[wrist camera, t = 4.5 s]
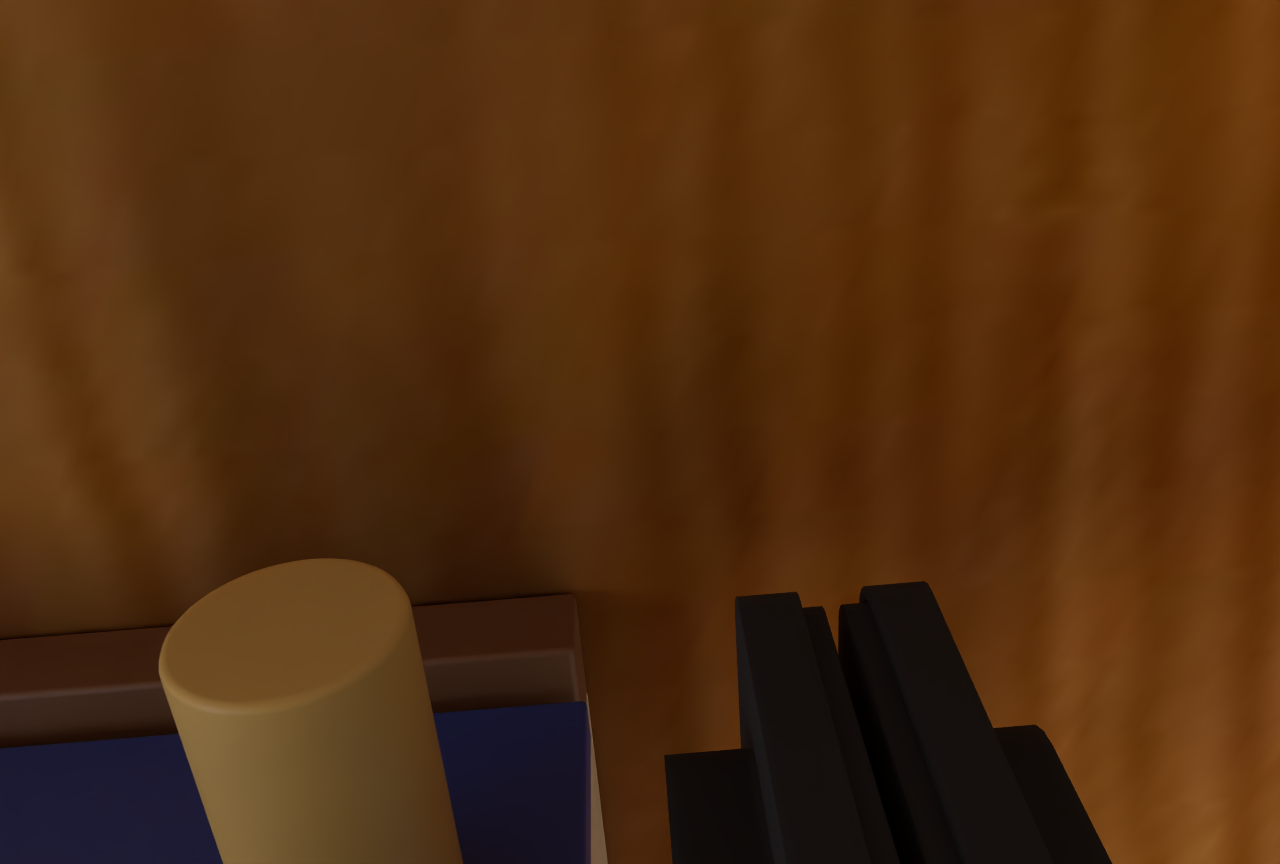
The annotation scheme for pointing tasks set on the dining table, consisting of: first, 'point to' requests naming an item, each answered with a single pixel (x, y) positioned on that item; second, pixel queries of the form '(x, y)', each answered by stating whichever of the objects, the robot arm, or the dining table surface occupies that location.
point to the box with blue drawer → (449, 644)
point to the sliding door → (306, 748)
